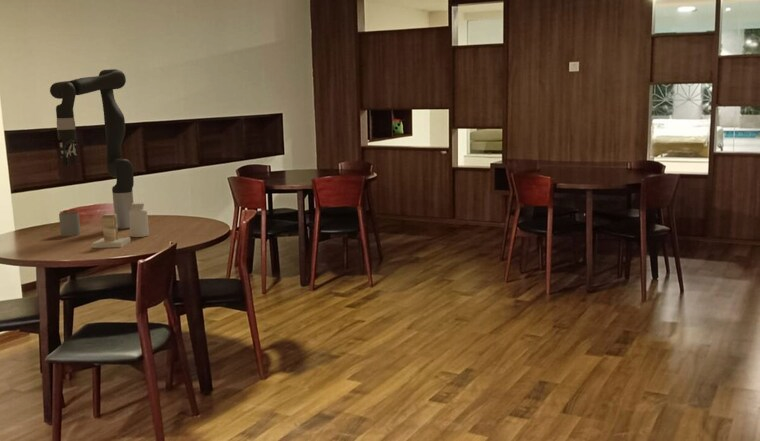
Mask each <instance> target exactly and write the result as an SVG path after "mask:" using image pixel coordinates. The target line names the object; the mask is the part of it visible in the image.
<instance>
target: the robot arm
mask: <svg viewBox="0 0 760 441" xmlns="http://www.w3.org/2000/svg"><path fill="white" fill-rule="evenodd" d="M126 80H127V77H126V75H125V73H124V72H123V71H122V70H121V69H117V68H114V69H112V68H111V69H103V70H101V71H100V72H99V73H98V75H97V76H88V77H80V78H76V79H71V80H65V81H58V82H54V83H52V85H51V86H50V88H49V93H50V95H51V96H52V97H53V98H54V99H57V100H58V99H59V100H61V103H60V104H58V105H56V107H55V112H56V113H55V114H56V115H55V116H56V130H57V139H58V140H59V141H61V142H58V143H57V144H58V155H59V157H60V158H61V161H62V166H63V167H69V159H70V165H72V166H73V165H74V166H75V165H77V156H78V154H79V150H78V149H79V148H78V142H77V140H76V139H77V129H76V121H75V114H74V106H75V100H76V96H82V95H85V94H89V93H94V92H96V91H100V96H101V103H102V110H103V120H104V123H103V124H104V131H105V139H106V140H105V141H106V170H107V173H108V174H109V176H110V177H112V178H115V179H116V184H115V185H113V186H112V187H111V191H112V202H113V203H112V204H113V211H114V212H113V214H116V215H117V226H118V230H119V229H122V230H123V229H130V222H129V211H130V210H131V209H132V206H131V204H132V203H134V192H133V188H134V183H135V182H134V167H133V163H132V162H131V161H130V160H129V159H126V158H122V145H123V141H124V138H125V136H126V120H125V115H124V113H123V112H122V109H121V108H120V106H119V105H118V104H117V102H116V99H115V95H114V90H120V89H122V88H123V87H124V86H126V83H127V81H126ZM69 155H70V158H69Z"/></svg>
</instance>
